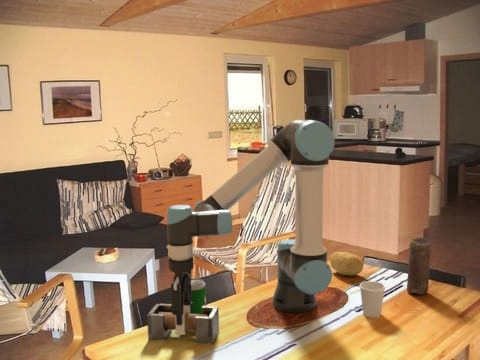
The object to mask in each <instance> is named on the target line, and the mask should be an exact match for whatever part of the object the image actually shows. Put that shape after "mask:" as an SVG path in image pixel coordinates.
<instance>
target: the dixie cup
mask: <svg viewBox="0 0 480 360" xmlns="http://www.w3.org/2000/svg"><path fill="white" fill-rule="evenodd" d="M359 288H360V289H359V290H360V297H361V307H362V315H363V316H364V317H367V318H371V319H375V318H377V319H378V318H380V317H381V315H382V308H383V301H384V295H385V289H386V288H387V287H386V285H385V284H384V283H382V282H379V281H374V280H373V281H372V280H369V281H367V280H365V281H362V282H361V283H359Z"/></svg>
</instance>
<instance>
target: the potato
mask: <svg viewBox="0 0 480 360" xmlns="http://www.w3.org/2000/svg"><path fill="white" fill-rule="evenodd" d="M329 262H330V268H332V270H334V271H336V273H338V274H339V275H341V276H351V277H353V276H356V275H358V274H361V272H362V271H363V270H364V265H365V264H364V261H363V259H362V258H361V257H360V256H358V255H356V254H354V253H351V252H347V251H336V252H333V253H332V254H331V255H330V258H329Z"/></svg>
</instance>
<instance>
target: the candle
mask: <svg viewBox="0 0 480 360" xmlns="http://www.w3.org/2000/svg"><path fill="white" fill-rule="evenodd" d="M431 245H432V242H431V240H429V239H428V238H423V237H413V238H412V239H410V241H409V249H408V250H409V253H408V268H407V269H408V270H407V278H406V280H407V282H406V291H407V292H408V293H412V294H415V293H417V294H416V295H418V294H421V295H423V294H426V293H428V292H429V283H430V282H429V280H430V267H431V266H430V263H431V262H430V261H431Z"/></svg>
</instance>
